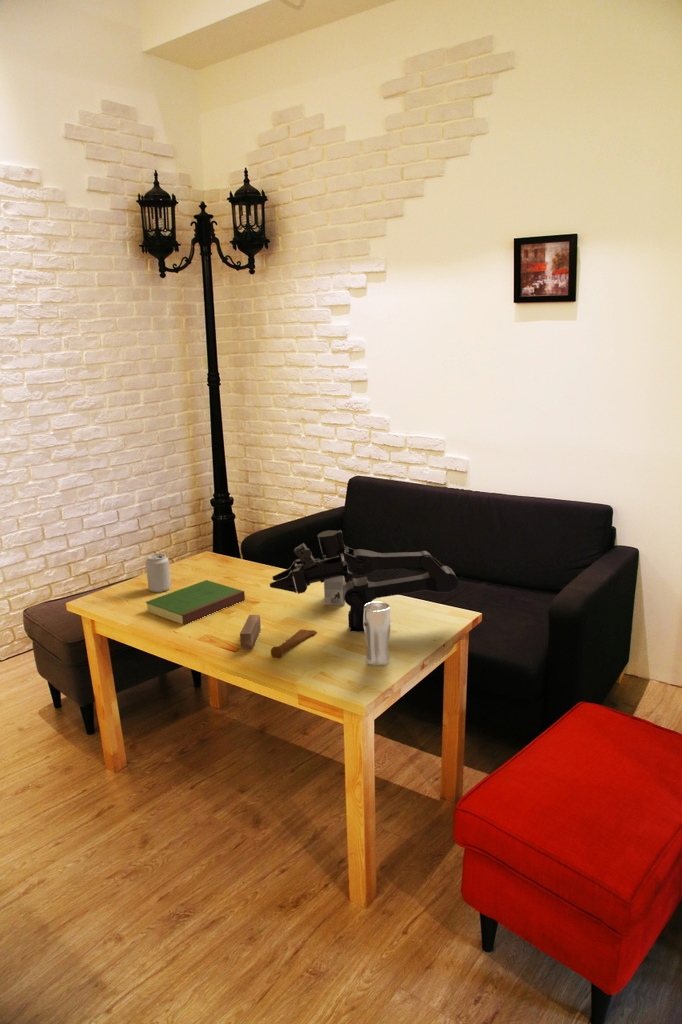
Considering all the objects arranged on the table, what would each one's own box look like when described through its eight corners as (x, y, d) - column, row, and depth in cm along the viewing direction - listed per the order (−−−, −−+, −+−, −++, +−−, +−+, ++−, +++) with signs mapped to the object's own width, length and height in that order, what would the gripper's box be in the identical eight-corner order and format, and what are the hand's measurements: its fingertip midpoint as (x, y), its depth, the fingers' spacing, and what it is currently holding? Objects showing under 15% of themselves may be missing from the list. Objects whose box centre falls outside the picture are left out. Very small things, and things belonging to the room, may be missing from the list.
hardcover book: (184, 627, 209) (183, 615, 208) (146, 613, 221) (145, 601, 220) (246, 601, 228) (246, 590, 227) (209, 589, 240) (208, 579, 239)
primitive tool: (301, 630, 204) (300, 619, 203) (318, 633, 201) (318, 622, 201) (269, 659, 186) (268, 647, 186) (287, 662, 184) (287, 650, 183)
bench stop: (260, 631, 203) (259, 614, 202) (252, 650, 191) (250, 633, 189) (250, 631, 203) (249, 614, 202) (241, 650, 191) (239, 633, 190)
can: (175, 588, 240) (172, 554, 238) (157, 594, 235) (153, 560, 232) (162, 584, 245) (159, 551, 242) (144, 590, 240) (140, 556, 237)
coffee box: (329, 594, 230) (327, 547, 226) (348, 595, 229) (347, 547, 225) (324, 605, 221) (321, 555, 217) (344, 605, 220) (342, 556, 216)
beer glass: (386, 668, 178) (385, 612, 174) (360, 664, 180) (358, 609, 177) (395, 657, 184) (394, 602, 180) (370, 653, 187) (368, 599, 183)
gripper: (319, 536, 206) (267, 548, 207) (318, 547, 188) (261, 560, 188) (328, 573, 208) (276, 585, 208) (327, 587, 189) (271, 600, 189)
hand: (271, 581), depth 198 cm, fingers open, 9 cm apart
